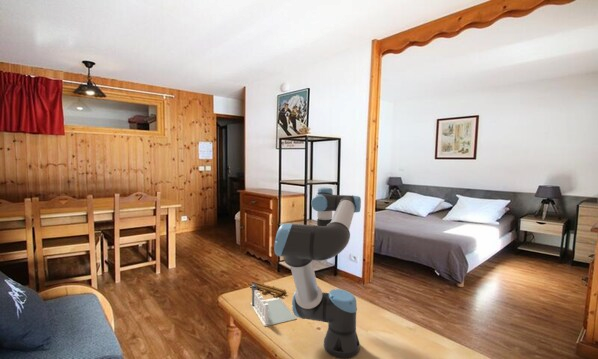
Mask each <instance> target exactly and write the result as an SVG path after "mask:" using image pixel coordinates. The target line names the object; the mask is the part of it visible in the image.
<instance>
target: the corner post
mask: <svg viewBox="0 0 598 359" xmlns="http://www.w3.org/2000/svg"><path fill="white" fill-rule="evenodd" d="M250 287H251V302H252V306H254V290H258V289H257V284H252V285H251V286H250ZM252 306H251V307H252Z"/></svg>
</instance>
